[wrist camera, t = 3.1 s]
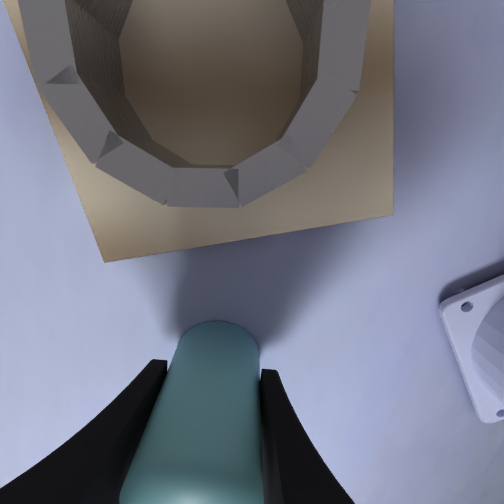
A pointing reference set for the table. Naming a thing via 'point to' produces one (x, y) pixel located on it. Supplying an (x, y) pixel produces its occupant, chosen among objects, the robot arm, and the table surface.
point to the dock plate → (233, 123)
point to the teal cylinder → (203, 425)
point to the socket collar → (135, 134)
